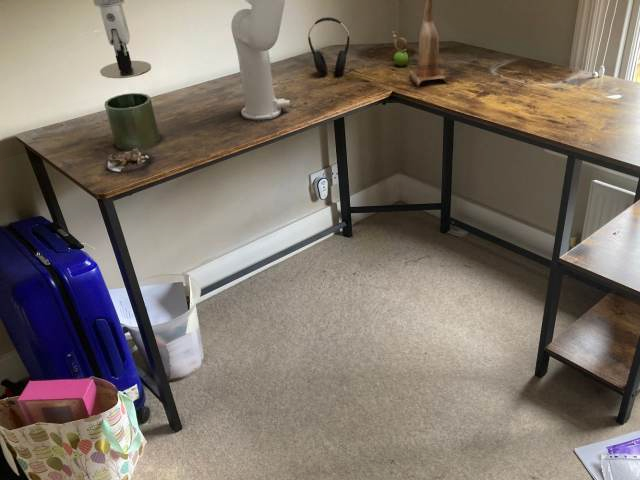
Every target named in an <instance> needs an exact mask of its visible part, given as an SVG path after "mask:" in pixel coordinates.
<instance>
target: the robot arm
mask: <svg viewBox="0 0 640 480" xmlns="http://www.w3.org/2000/svg"><path fill="white" fill-rule="evenodd" d="M92 1H93V5H94V6H95V7H99V10H100V14H101V19H102V22H103V25H104V30H105V33H106V37H107V41H108V43H109V45H110V46H113V50H114V53H115V54H114V55H115V60H116V63H117V64H118V67H119V70H120V71H122V70H131V65H132V63H131V61H132V59H131V56H130V51H129V50H128V46H127V45H128V44H129V43H130V39H131V34H130V30H129V27H128V24H127V19H126V16H125V15H126V14H125V12H124V8H123V4H124V3H125V0H92ZM244 1H245V2H246V3H248V4H249V5H251V8H250V9H249V8H242V9H240V10H238V11H237V12H236V13H235V14H234V15H233V16H232V19H231V23H230V25H231V26H230V27H231V34H232V37H233V41H234V45H235V49H236V54H237V59H238V65H239V73H240V80H241V86H242V92H243V99H244V106H245V107H243V108H241V111H240V112H241V116H242V117H243V118H245V119H248V120H267V119H269V120H270V119H271V120H272V119H274V118H277V117H278V116H279V115H280V114H281V113H282V109H281V108H282V107H284V108H285V107H291V102H290V99H285V98H276V96H275V92H274V91H275V90H274V83H273V82H274V81H273V74H272V67H271V57H270V51H269V50H271V49H272V48H273V47H274V46H275V44H276V43H277V41H278V38H279V35H280V28H281V25H282V19H283V14H284V9H285V3H286V2H285V1H286V0H244Z"/></svg>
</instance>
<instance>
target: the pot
mask: <svg viewBox="0 0 640 480" xmlns="http://www.w3.org/2000/svg"><path fill="white" fill-rule="evenodd" d="M103 106H104V109H105V112H106V116H107V119H108V123H109V126H110V130H111V134H112V137H113V140H114V145H115V146H116V147H117V148H118V149H120V150H122V151H124V150H133V149H135V148H138V149H144V148H147V147H150V146H152V145H154V144H156V143H157V142H158V141H159V140H160V139H161V137H160V135H161V134H160V131H159V127H158V123H157V119H156V114H155V110H154V106H153V101H152V98H151V97H150V96H149V95H148V94H146V93H141V92H140V93H139V92H131V93H130V92H129V93H123V94H117V95H115V96H113V97H109V98H108V99H107V100H106V101H104V105H103ZM129 107H131V108H129Z"/></svg>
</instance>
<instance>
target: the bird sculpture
mask: <svg viewBox="0 0 640 480" xmlns="http://www.w3.org/2000/svg"><path fill="white" fill-rule="evenodd" d="M425 1H426V2H425V6H424V11H423V19H422V24H421V28H420V34H419V41H418V62H417V63H418V64H417V68H416V69H410V70H409V72H408V77H409V78H410V79H411V80H412V81H413V83H415V85H416V86H417V87H420V84H421V83H423V82H424V81H430V80H439V79H440V80H443V81H444V82H445V83H446V84H449V83H448V82H449V80H448V78H447V77H446V76H445V75H444V74H443V73H442V72H441V71H440V70H439V54H440V53H439V52H440V37H439V33H438V29H437V28H436V25H435V23H434V16H433V0H425Z"/></svg>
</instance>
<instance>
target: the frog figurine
mask: <svg viewBox="0 0 640 480" xmlns="http://www.w3.org/2000/svg"><path fill="white" fill-rule="evenodd" d="M141 154H142V152H140V151H139V148H135V149H131V151H119V152H117V153H115V154H112V153H110V154H109V156H108V157H107V161H108V162H107V169H108V170H110V171H113V172H117V173H119V172H121V171H122V169H124V168H126V166H125V165H126V164H130V163H133V162H136V164H138V165H140V164H142V163H144V162H146V160H145V159H144V158H146V159H149V155H148V154H145V156H142V155H141ZM143 159H144V160H143Z"/></svg>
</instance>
